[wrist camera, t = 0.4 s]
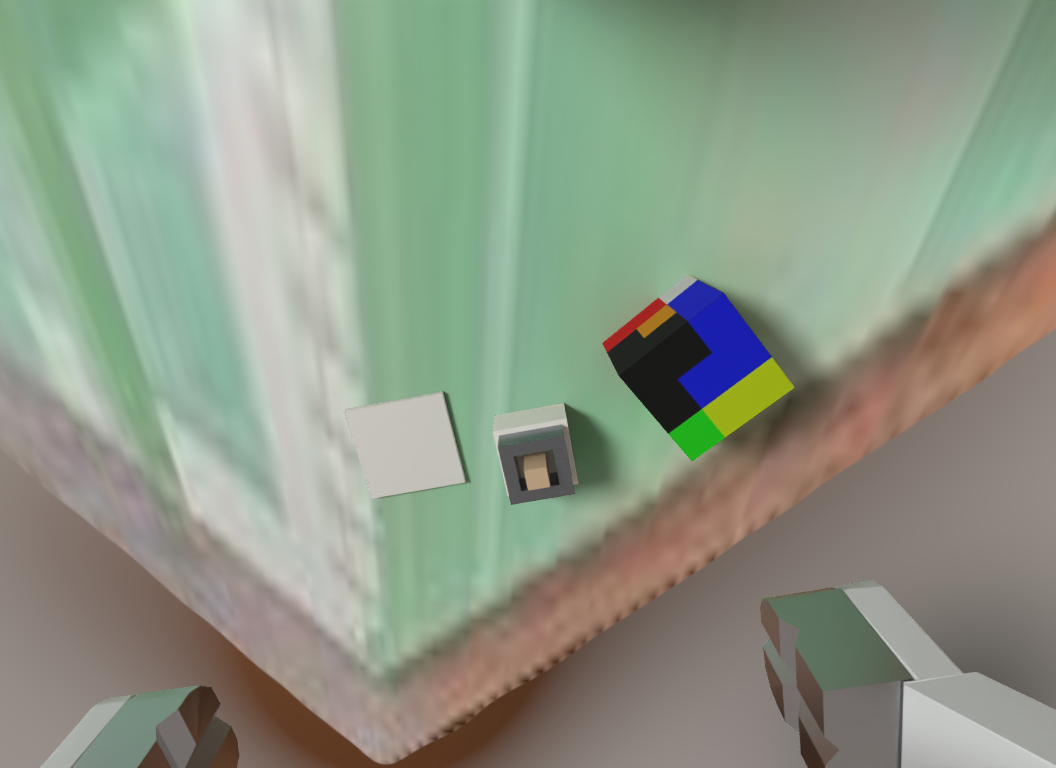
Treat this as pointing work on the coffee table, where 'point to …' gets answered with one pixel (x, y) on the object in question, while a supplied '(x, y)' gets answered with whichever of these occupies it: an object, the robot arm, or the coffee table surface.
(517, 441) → the ring
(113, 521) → the coffee table surface
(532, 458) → the peg stand
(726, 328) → the puzzle toy
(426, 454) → the coaster
